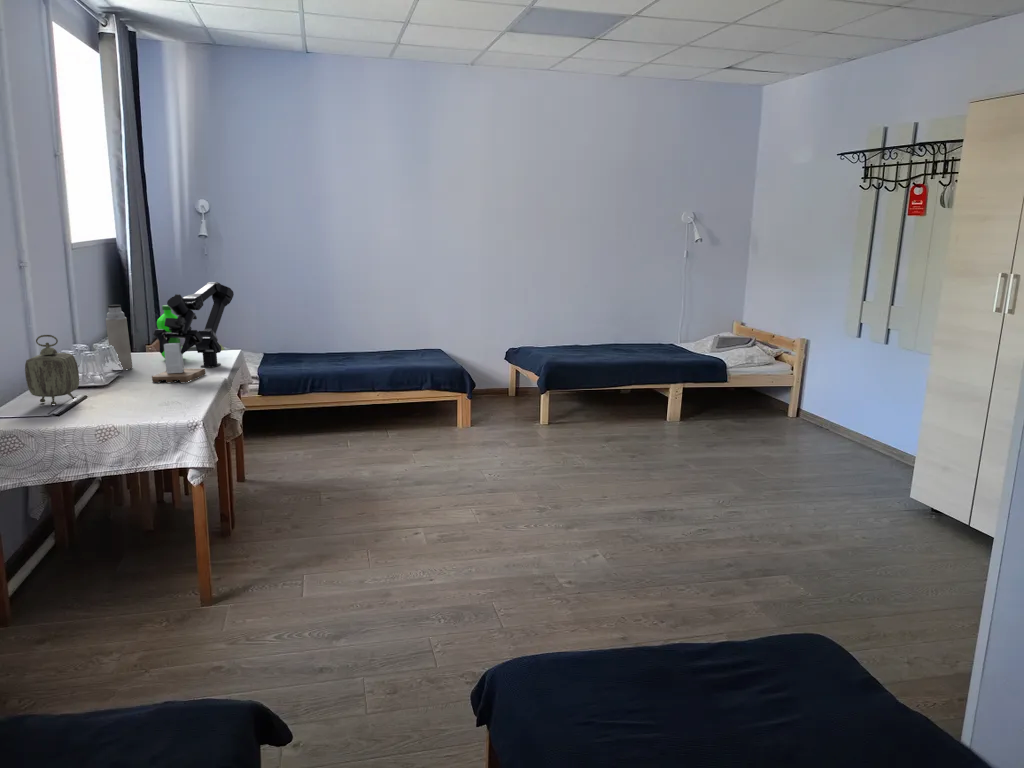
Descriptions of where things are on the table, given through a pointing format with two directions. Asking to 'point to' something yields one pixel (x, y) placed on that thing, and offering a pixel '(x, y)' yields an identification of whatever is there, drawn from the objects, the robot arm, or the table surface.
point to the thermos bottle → (119, 335)
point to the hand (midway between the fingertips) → (171, 353)
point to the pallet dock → (179, 375)
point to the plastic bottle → (161, 326)
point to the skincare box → (173, 358)
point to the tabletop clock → (51, 373)
